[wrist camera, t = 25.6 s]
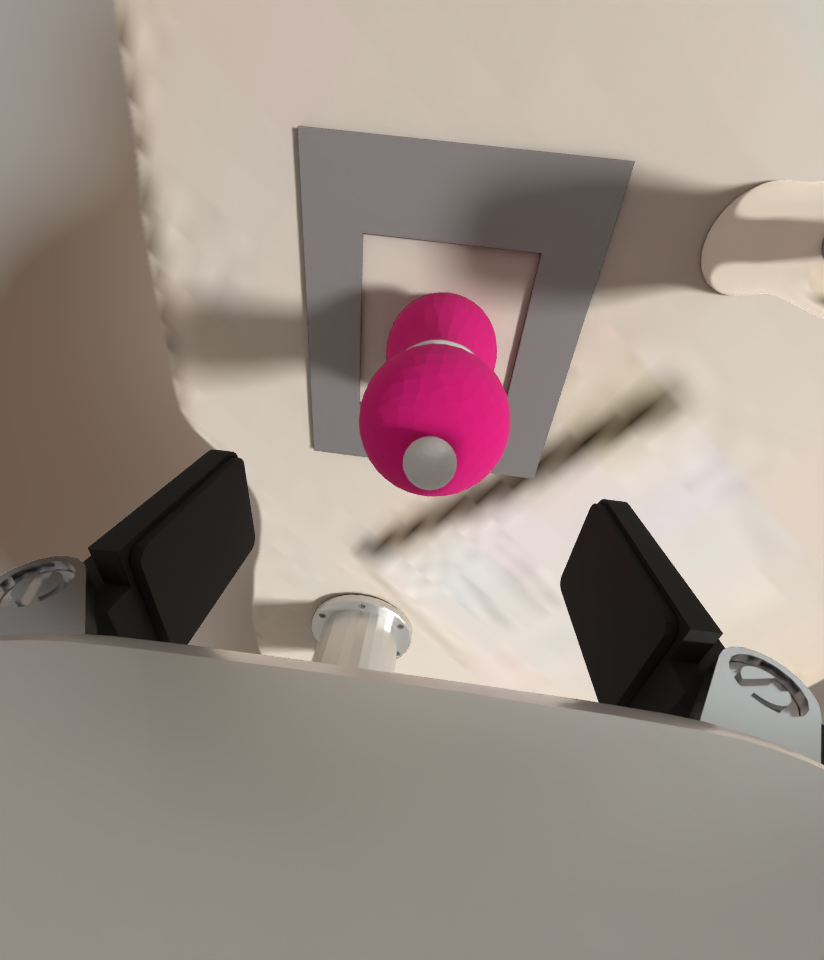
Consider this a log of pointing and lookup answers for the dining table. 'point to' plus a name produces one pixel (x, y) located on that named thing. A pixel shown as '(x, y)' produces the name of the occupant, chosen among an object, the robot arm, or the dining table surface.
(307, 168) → the letter o mat
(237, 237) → the dining table surface
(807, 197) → the beer glass
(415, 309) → the pepper mill
